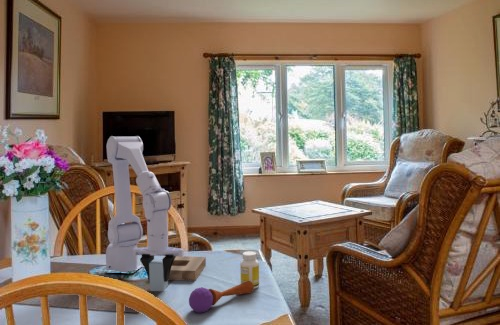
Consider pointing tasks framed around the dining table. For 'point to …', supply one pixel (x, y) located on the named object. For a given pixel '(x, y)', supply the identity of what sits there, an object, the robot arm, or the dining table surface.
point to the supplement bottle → (250, 269)
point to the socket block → (187, 268)
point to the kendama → (215, 296)
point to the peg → (157, 275)
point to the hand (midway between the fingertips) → (158, 280)
